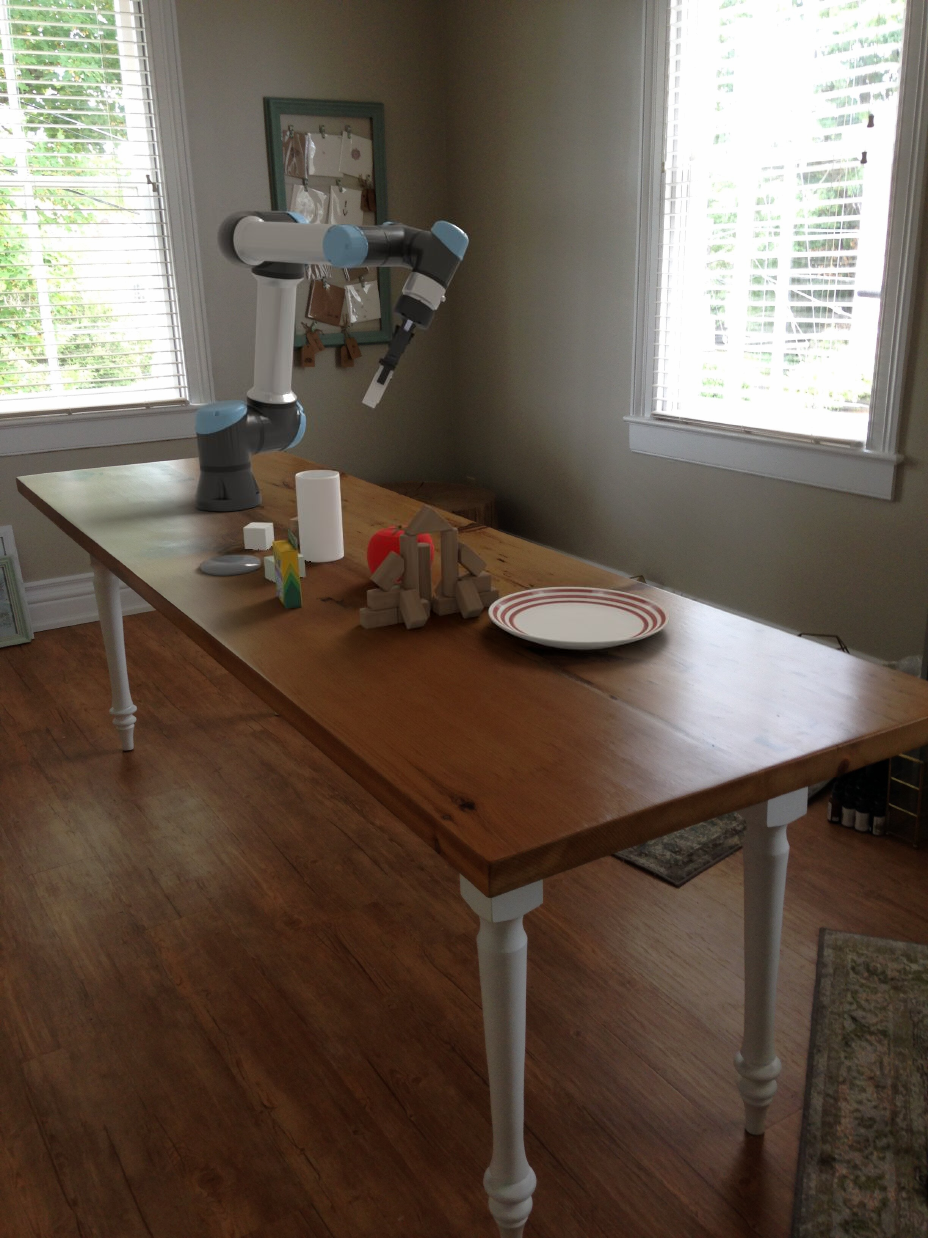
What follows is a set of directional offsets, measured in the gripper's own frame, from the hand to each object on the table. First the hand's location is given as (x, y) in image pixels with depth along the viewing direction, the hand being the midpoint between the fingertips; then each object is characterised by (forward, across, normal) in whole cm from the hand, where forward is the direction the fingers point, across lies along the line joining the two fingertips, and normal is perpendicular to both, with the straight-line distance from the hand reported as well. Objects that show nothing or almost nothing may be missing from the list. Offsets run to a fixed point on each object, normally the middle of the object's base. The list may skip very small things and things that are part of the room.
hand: (369, 402), depth 201 cm
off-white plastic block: (+35, +6, +7) cm, 36 cm away
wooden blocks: (+29, -40, -24) cm, 55 cm away
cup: (+31, -3, -5) cm, 31 cm away
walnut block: (+30, +9, -1) cm, 31 cm away
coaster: (+40, -7, +10) cm, 41 cm away
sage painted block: (+36, -15, 0) cm, 39 cm away
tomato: (+28, -22, -18) cm, 40 cm away
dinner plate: (+21, -51, -43) cm, 70 cm away
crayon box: (+38, -29, -2) cm, 48 cm away
